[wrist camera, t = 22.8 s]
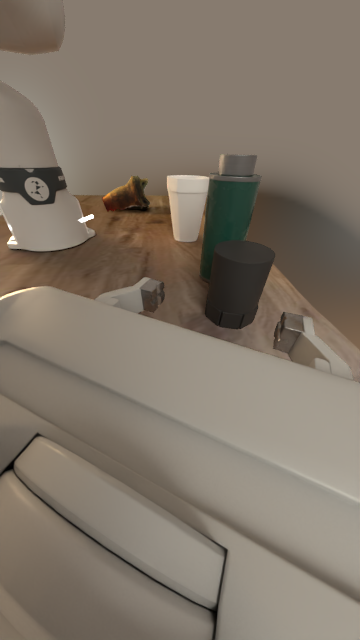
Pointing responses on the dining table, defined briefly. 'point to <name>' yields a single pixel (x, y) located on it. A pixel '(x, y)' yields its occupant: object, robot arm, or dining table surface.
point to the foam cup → (187, 204)
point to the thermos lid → (237, 282)
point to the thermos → (228, 205)
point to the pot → (128, 196)
